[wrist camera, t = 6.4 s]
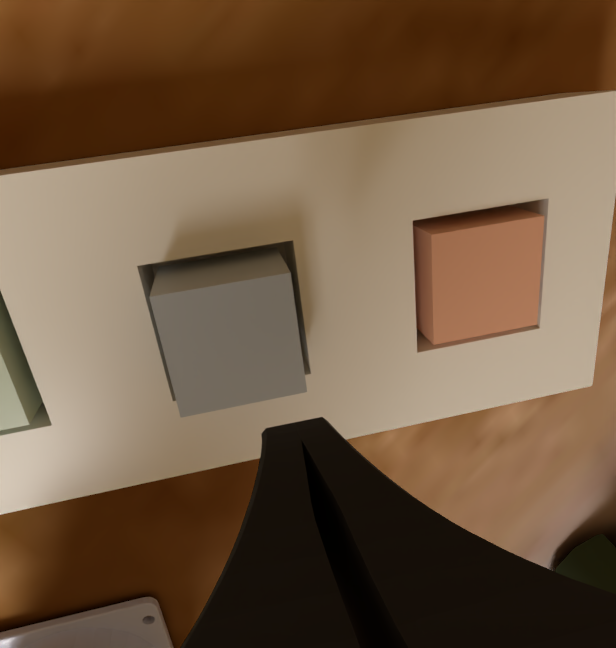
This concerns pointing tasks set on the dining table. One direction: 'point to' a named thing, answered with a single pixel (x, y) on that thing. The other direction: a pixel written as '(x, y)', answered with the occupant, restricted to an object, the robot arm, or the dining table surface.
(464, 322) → the terracotta button
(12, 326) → the sage button
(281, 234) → the button panel
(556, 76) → the dining table surface
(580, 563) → the character mug
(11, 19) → the dining table surface
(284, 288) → the slate button
